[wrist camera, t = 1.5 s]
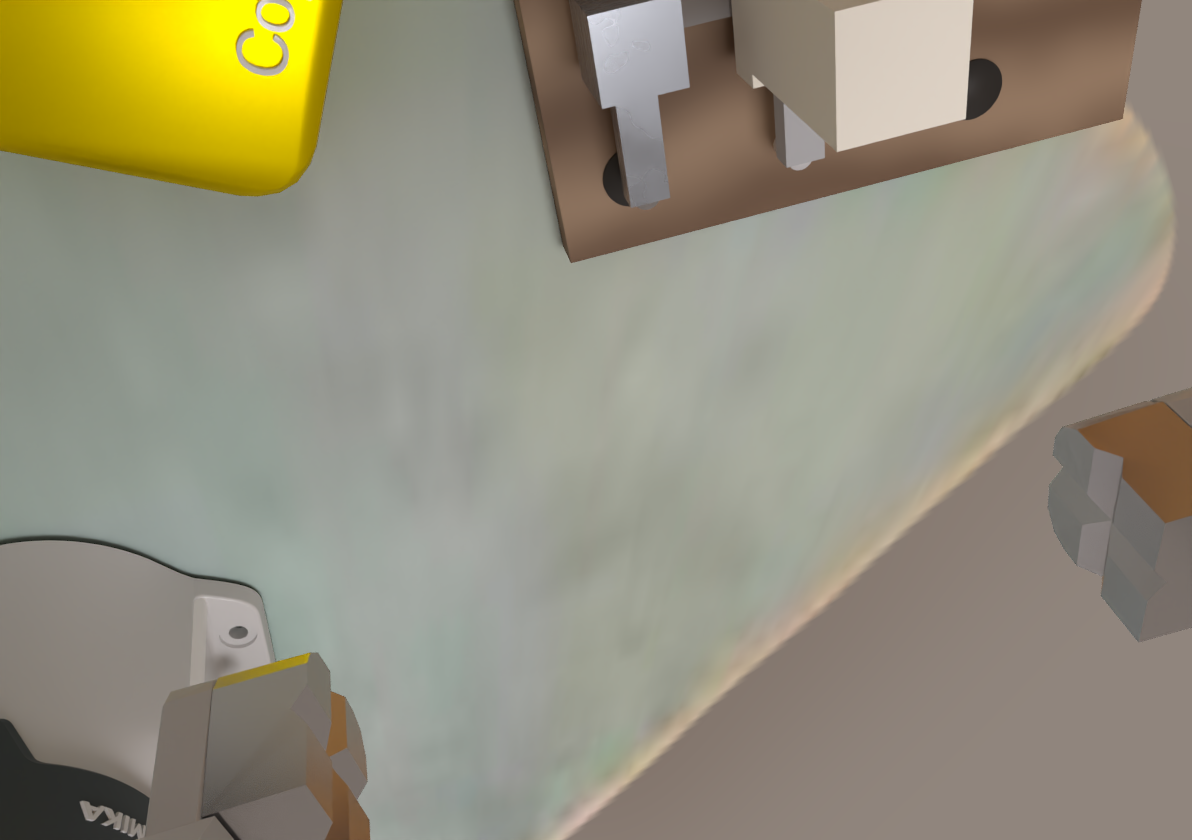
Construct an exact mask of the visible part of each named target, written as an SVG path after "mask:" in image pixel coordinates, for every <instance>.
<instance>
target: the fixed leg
mask: <svg viewBox="0 0 1192 840" xmlns="http://www.w3.org/2000/svg"><path fill="white" fill-rule="evenodd" d="M568 1H569V7H570V12H571V18H572V24H573V30H574V36H575V42H576V48H577V54H578V60H579V66H580V72H581V77H582V80H583V82H584V83H585V85H586V86H587V88H588V89H589V91H590V92H591V94H592V95H593V96H594V98H595V99H596V101H597V102H598V104H599V105H600V107H601V108H602V109H605V108H609V107H610V109H611V115H612V121H613V128H614V134H615V141H616V147H617V154H618V160H619V167H620V173H621V180H622V186H623V193H624V197H625V199H626V201H627V202H628V204H629V205H630V207H631V208H633V207H638V208H640V209H642V210H648V209H651V208H653V207H655V206H656V205H657V203H658V202H659V201H660V200H664V199H668V198H670V191H669V183H668V175H667V167H666V159H665V151H664V143H663V135H662V127H661V119H660V111H659V103H658V95H661V94H665V93H669V92H673V91H677V90H681V89H685V88H689V87H690V84H689V74H688V65H687V55H686V45H685V36H684V26H683V17H682V7H681V0H568Z"/></svg>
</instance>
